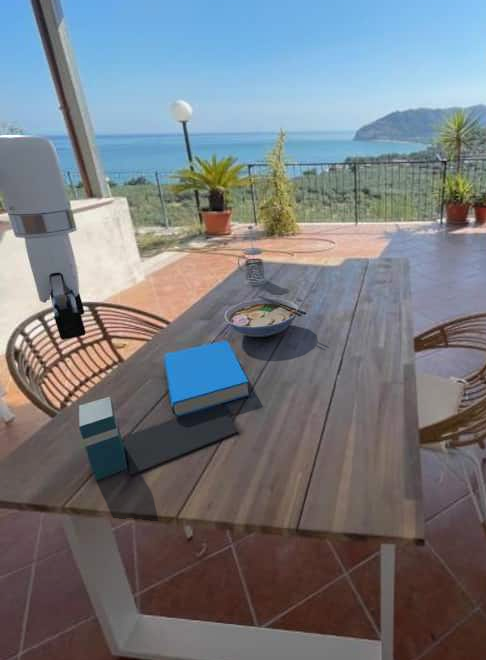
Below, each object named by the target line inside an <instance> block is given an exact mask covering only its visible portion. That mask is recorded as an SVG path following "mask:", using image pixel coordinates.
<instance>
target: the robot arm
mask: <svg viewBox="0 0 486 660" xmlns="http://www.w3.org/2000/svg"><path fill="white" fill-rule="evenodd" d="M0 194H1V196H2V200H3V203H4V206H5V210H6V213H7V216H8V219H9V222H10V226H11V228H12V232H13V234H14V237H15V238H20V239H24V244H25V249H26V254H27V257H28V262H29V265H30V268H31V274H32V276H33V281H34V285H35V287H36V292H37V295H38V300H39V302H41V303H47V301H50V300H51V305H52V309H53V314H54V315H53V318H54V322H55V325H56V328H57V331H58V334H59V338H60V340H63V341H65V340H70V339H74V338H78V337H83V336H85V335H86V328H85V325H84V321H83V317H82V316H83V315H85V308H84V305H83V302H82V298H81V294H80V282H79V281H80V280H79V273H78V267H77V261H76V258H75V254H74V249H73V245H72V241H71V238H70V235H69V234H70V233H74V232H76V231H77V230H78V228H77V225H76V221H75V217H74V213H73V209H72V206H71V202H70V198H69V194H68V190H67V186H66V183H65V179H64V174H63V171H62V168H61V164H60V159H59V156H58V152H57V148H56V146H55V144H54V143H53V141H52V140H51V139H49V138H47V137H45V136H42V135H25V134H24V135H22V134H20V135H18V134H16V135H15V134H13V135H11V134H10V135H0Z"/></svg>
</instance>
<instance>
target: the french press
mask: <svg viewBox="0 0 486 660" xmlns="http://www.w3.org/2000/svg"><path fill="white" fill-rule="evenodd" d="M247 229H248V230H249V231H250V233H252V230H253V226H252V225H249V226H247ZM250 239H251V240H250V241H251V242H253V238H252V236H250ZM262 253H263V250H262V249H260V248H257V247H254V246H253V245H251V248H250V247H249V248H247V249H245V250H244V251H243V254H242V255H241V256H240V257H238V260H237V266H238V268H239V270H240V271H241V272H243V273H245V280H244V284H245V285H247V286H260V285H263V284H266V283H267V282H268V279H267V278H265V279H264V277H265V268H264V262H263V259H261V258H255V256H256V255H261V254H262ZM245 255H246V256H252V258H249V259H246V256H245ZM242 258H243V259H246V260H245V265H244V266H245V267H244V268H245V269H243V268H242V266H240V259H242ZM251 275H256V276H262V277H255V276H251ZM248 276H249V277H248ZM251 277H253V278H257V279H262V278H263V279H264V280H263V281H260V282H248V281H246V279H247V280H250V281H259V280H256V279H248V278H251Z"/></svg>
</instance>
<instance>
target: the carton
mask: <svg viewBox="0 0 486 660" xmlns="http://www.w3.org/2000/svg"><path fill="white" fill-rule="evenodd" d="M112 401H113V400H112V398H111V396H106V397H104V398H100V399H97V400H94V401H90V402H87V403H84V404H80V405H78V429H79V431H80V434H81V438H82V442H83V445H84V447H85V450H86V454H87V456H88V460H89V463H90V467H91V470H92V472H93V476H94V479H95V481H99V480H101V479H105V478H106V477H109V476H112V475H114V474H117V473H119V472H122V471H124V470H127V469H128V462H127V456H126V450H125V444H124V441H123V438H122V435H121V434H122V433H121V431H120V427H119V423H118V420H117V416H116V412H115V408H114V405H113V402H112Z"/></svg>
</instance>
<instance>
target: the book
mask: <svg viewBox="0 0 486 660" xmlns="http://www.w3.org/2000/svg"><path fill="white" fill-rule="evenodd" d="M163 363H164V369H165V374H166V382H167V387H168V388H167V389H168V393H169V400H170V406H171V411H172V414H173V415H174V416H175V417H176V418H179V417H182V416H185V415H188V414H190V413H193V412H196V411H199V410H202V409H205V408H209V407H212V406H215V405H219V404H224V403H225V404H226V403H228V402H231V401H235V400H238V399H242V398H245V397H248V396H251V393H250V391H249V386H248V384H249V380H248V378H247V376H246V374H245V372H244V370H243V369H242V367H241V364H240V362H239V361H238V359H237V357H236V355H235V354H234V351H233V349H232V347H231V345H230V343H229V341H228V340H221V341H217V342H212V343H208V344H204V345H200V346H194V347H191V348H186V349H182V350H177V351H173V352H169V353H165V354H164V357H163Z"/></svg>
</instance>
